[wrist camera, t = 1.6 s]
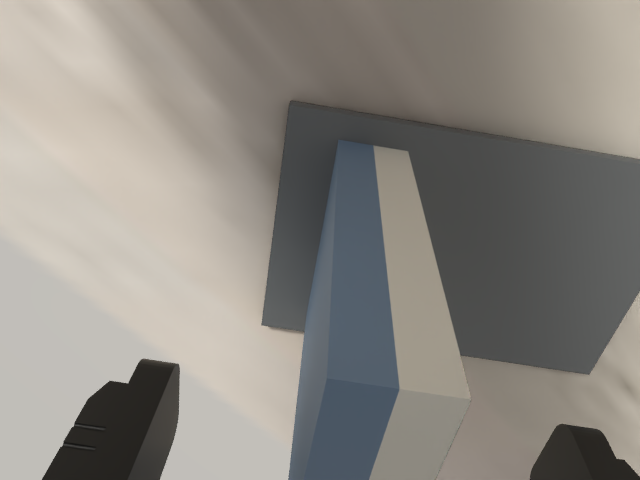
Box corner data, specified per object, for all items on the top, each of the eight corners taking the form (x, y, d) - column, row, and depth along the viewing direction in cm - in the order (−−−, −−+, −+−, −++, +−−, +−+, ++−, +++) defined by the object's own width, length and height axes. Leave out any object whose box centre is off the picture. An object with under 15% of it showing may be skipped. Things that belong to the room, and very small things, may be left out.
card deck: (338, 139, 15) (326, 378, 7) (408, 151, 15) (471, 399, 7) (306, 315, 18) (274, 605, 10) (362, 323, 18) (373, 617, 10)
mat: (290, 100, 15) (289, 105, 14) (700, 169, 15) (709, 175, 15) (263, 317, 19) (261, 325, 18) (584, 366, 19) (589, 374, 19)
